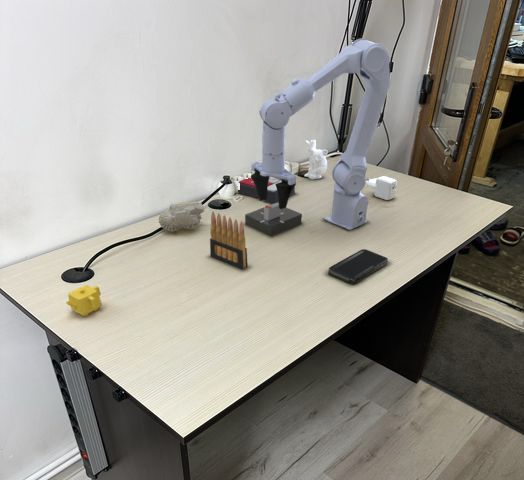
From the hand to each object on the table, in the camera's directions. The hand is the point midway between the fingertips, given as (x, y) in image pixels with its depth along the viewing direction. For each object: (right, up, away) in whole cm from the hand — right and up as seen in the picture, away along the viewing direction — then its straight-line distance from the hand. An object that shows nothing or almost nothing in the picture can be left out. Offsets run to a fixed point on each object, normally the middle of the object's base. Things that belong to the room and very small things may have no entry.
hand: (272, 203), depth 134 cm
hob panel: (0, -4, +6) cm, 7 cm away
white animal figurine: (+15, +19, +36) cm, 43 cm away
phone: (+21, -20, -13) cm, 31 cm away
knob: (0, -3, +2) cm, 4 cm away
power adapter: (+34, +10, +24) cm, 42 cm away
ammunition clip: (-11, -18, -11) cm, 24 cm away
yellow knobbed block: (-40, -31, -28) cm, 58 cm away
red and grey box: (-2, +10, +24) cm, 26 cm away
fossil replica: (-25, -6, +4) cm, 26 cm away
